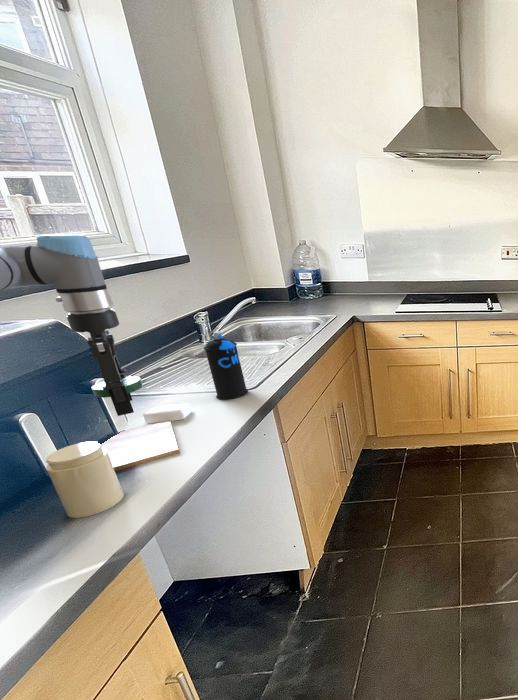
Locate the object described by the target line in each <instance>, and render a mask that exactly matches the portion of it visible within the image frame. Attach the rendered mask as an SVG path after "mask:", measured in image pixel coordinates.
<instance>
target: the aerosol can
mask: <svg viewBox="0 0 518 700" xmlns="http://www.w3.org/2000/svg"><path fill="white" fill-rule="evenodd" d="M212 334H213V335H212V336H213V339H212V340H210V341H208V342H207V343H206V344H205V346H204V347H203V350H204V351H205V355H206V358H207V359H206V360H207V362H208V367H209V370H210V373H211V374H210V375H211V378H212V382H213V384H214V389H215V392H216V395H215V396H216V398H217V399H218V400H223V401H225V400H234V399H239V398H242V397H243V396H245V395H247V394H248V393H249V390H248V388H247V386H246V381H245V377H244V373H243V369H242V364H241V361H240V360H241V359H240V356H239V353H238V348H237V345H238V344H237V342H235V341H233V340H232V339H230V338H225V337H223V335H222V331H221V330H217V331H213V332H212Z"/></svg>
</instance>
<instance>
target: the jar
mask: <svg viewBox="0 0 518 700" xmlns="http://www.w3.org/2000/svg"><path fill="white" fill-rule="evenodd" d="M45 462H46V463H47V465H46V466H45V470H46V472H47V474H48V476H49V479H50V480H51V483H52V485H53V488H54V490H55V492H56V494H57V497H58V499H59V501H60V503H61V505H62V507H63V509H64V511H65V514H66V516H67V517H69V518H72V519H78V518H79V519H80V518H86V517H91V516H94V515H97V514H100V513H103V512H105V511H106V510H107V511H108V510H109V509H111V508H112V507H114V506H117V504H118V503H120V502H121V501H122V500H123V499H124V496H125V495H124V494H125V493H124V491H123V488H122V486H121V483H120V480H119V477H118V475H117V473H116V472H117V471H115V470H114V467H113V465H112V462H111V460H110V457H109V454H108V452H107V450H106V449H104V448H102V447H101V444H100V443H98V441H84V442H79V443H74V444H71V445H68V446H64V447H62V448H60V449H57V450H55V451H53V452H52V453H50V454H49V455H48V456H47V457H46V460H45Z"/></svg>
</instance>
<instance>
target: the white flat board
mask: <svg viewBox="0 0 518 700" xmlns="http://www.w3.org/2000/svg"><path fill="white" fill-rule="evenodd" d="M119 432H120V433H119ZM119 432H118V433H119V434H117V435H115V436H113V437H111V438H110V439H108V440H107V441H105V442H104V443H102V444H101V447H102V448H104V449H106V450H107V452H108V454H109V457H110V460H111V462H112V465H113V467H114V470H115V472H118V471H121V470H125V469H128V468H131V467H135V466H139V465H142V464H145V463H149V462H152V461H155V460H160V459H163V458H166V457H170V456H173V455H177V454H180V452H181V451H180V447H179V444H178V441H177V438H176V434H175V431H174V428H173V424H172V421H170V420H167V421H163V422H157V423H150V424H147V425H143V426H139V427H135V428H130V429H127V430H122V431H119Z"/></svg>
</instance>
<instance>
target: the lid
mask: <svg viewBox="0 0 518 700" xmlns="http://www.w3.org/2000/svg"><path fill="white" fill-rule="evenodd" d="M121 380H122V382H123V384H124V385H125V388H126V391H127V393H130V394H131V393H134V392H136V391H138V390H140V389H142V388H143V387H144V385H143V384H144V383H143V381H142V378H141V376H137V375H127V376H126V375H125V376H124V377H121ZM114 382H117V381H114ZM110 383H111V382H110ZM105 385H106V384H105V381H104V380H103V381H100V382H97V383H95V384H93V385H92V386H91V390H92V394H93V395H94V397H96V398H111V397H110V394H109V391H108V390H103V388H102V387H106V386H105Z"/></svg>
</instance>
